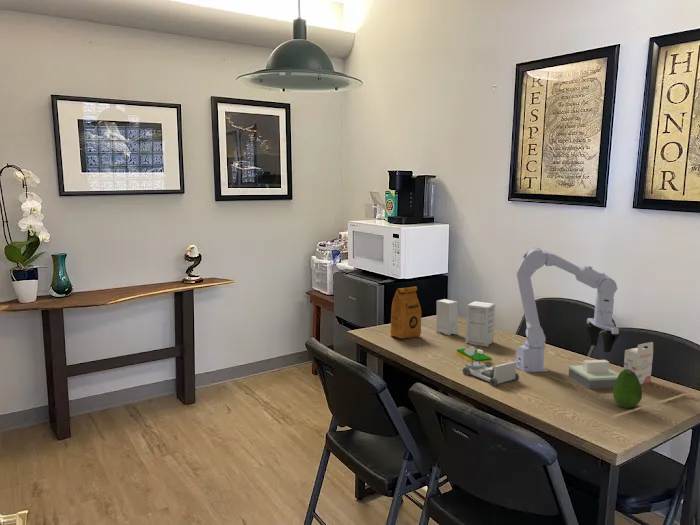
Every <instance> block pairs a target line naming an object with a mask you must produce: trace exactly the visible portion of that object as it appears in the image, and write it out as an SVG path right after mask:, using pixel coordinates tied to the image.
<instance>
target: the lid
mask: <svg viewBox="0 0 700 525" xmlns="http://www.w3.org/2000/svg"><path fill="white" fill-rule="evenodd" d="M567 368H568V370H569V369H571V370H573V371H574V372H576V373H578V374H579V375H581V376H583V377H584V378H586V379H588V380H589V381H595V380H616V379H617V377H618V375H619V374H620V373H619V372H615V371H614V370H612V369H610V361H608V360H607V359H594V360H593V359H589V360H585V359H584V360H583V364H580V365H568V367H567Z"/></svg>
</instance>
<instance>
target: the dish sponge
mask: <svg viewBox="0 0 700 525" xmlns="http://www.w3.org/2000/svg"><path fill="white" fill-rule="evenodd" d="M467 348H468V347H466V348H465V347H464V348H459V349H458V348H457V349H456V355H457V356H459V357H460V356H461V357H460V358H462V357H463V358H462V359H464V358H465V359H464V360H466V361H468V362H469V361H470V363H471V362H472V356H470V355H468V354H467V353H465V352H464V350H465V349H467ZM476 350H477V349H475V348H474V355H473V362H479V353H477V351H476ZM492 360H493V358H492V357H490V356H488V355H486V354H484V353H483V354H480V363H483V364H485V363H486V362H490V363H491V364H492V363H493V361H492Z"/></svg>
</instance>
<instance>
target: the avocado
mask: <svg viewBox="0 0 700 525" xmlns="http://www.w3.org/2000/svg"><path fill="white" fill-rule="evenodd" d="M618 374H619V375H618V377H617V379H616V381H615V383H614V385H613V388H612V395H613V399H614V401H615V403H616V404H617V405H618V407H619V406H620V408H621V407H622V408H625V409H631V408H635V407H636V406H637V405H638V404H639V403H640V402H641V400H642V398H643V389H642V384H640V382H639V380H638V378H637V376H636V374H635V373H634V372H633V371H631V370H628V369H625V370H624V369H623V370H621V371H620V372H619V373H618Z"/></svg>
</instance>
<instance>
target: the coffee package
mask: <svg viewBox="0 0 700 525" xmlns="http://www.w3.org/2000/svg"><path fill="white" fill-rule="evenodd" d="M416 291H418V287H417V286H411V287H401V288H397V289H396V291H395V293H394V297H393V298H392V303H391V313H390V336H391V337H395V338H397V339H409V338H411V339H412V338H417V337H420V336H421V334H422V314H423V313H422V308H421V304H420V301H419V298H418V295H417V292H416Z"/></svg>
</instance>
